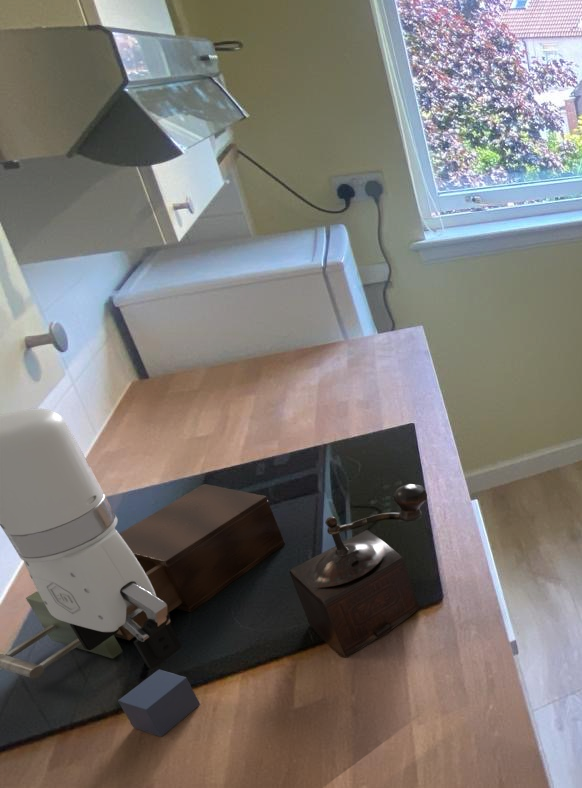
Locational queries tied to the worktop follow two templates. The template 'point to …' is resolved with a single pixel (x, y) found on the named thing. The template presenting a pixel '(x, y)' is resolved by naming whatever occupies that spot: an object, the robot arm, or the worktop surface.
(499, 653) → the worktop surface
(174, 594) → the drawer
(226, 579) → the cabinet
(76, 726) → the worktop surface
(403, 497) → the manual coffee grinder
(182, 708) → the block
